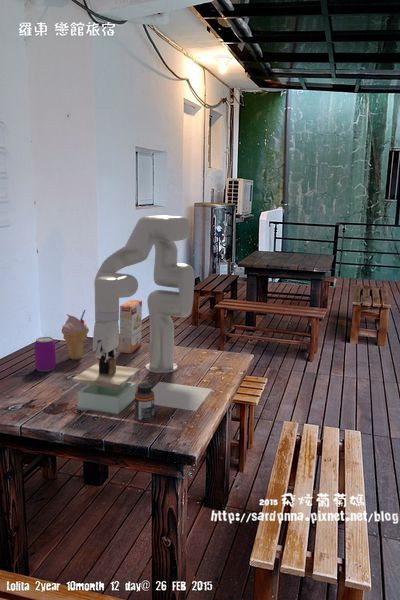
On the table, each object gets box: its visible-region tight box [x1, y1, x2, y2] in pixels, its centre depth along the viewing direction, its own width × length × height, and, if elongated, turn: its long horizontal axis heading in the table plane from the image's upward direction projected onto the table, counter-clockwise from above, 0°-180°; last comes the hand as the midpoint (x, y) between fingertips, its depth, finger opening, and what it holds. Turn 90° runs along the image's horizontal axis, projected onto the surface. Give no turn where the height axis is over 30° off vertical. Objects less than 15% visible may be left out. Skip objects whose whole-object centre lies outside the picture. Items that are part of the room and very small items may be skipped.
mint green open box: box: [77, 381, 137, 415], centre depth 172 cm, size 14×14×6 cm
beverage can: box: [34, 336, 57, 372], centre depth 203 cm, size 8×8×12 cm
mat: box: [151, 381, 213, 412], centre depth 180 cm, size 20×20×1 cm
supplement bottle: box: [134, 382, 155, 424], centre depth 161 cm, size 6×6×11 cm
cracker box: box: [119, 299, 143, 354], centre depth 231 cm, size 14×6×21 cm, turn 168°
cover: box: [72, 355, 141, 389], centre depth 170 cm, size 16×16×6 cm
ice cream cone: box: [61, 309, 90, 360], centre depth 216 cm, size 11×11×20 cm
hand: (107, 370), depth 170 cm, fingers closed on cover, 4 cm apart
